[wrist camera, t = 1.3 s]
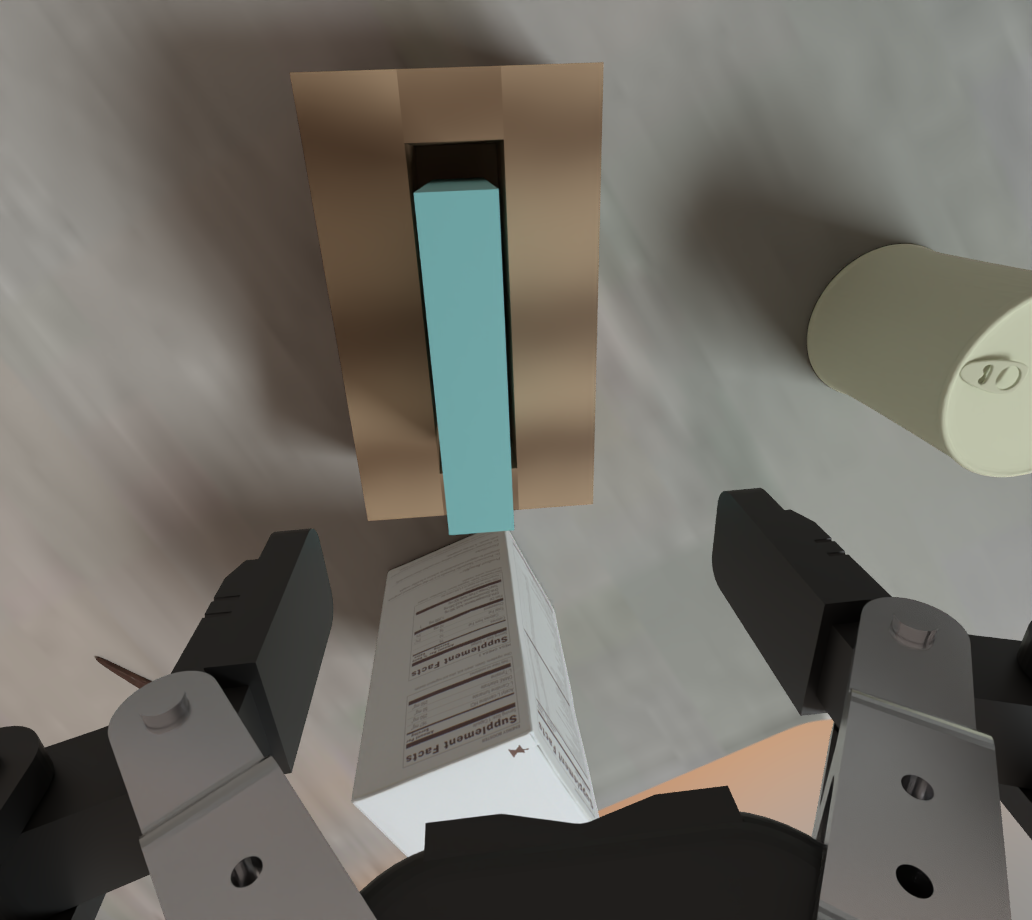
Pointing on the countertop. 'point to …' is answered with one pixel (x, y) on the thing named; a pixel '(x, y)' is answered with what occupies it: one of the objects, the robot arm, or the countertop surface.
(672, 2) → the countertop surface
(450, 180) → the cover plate
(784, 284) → the countertop surface
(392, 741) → the supplement box
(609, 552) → the countertop surface
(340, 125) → the slot box
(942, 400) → the can
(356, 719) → the countertop surface
